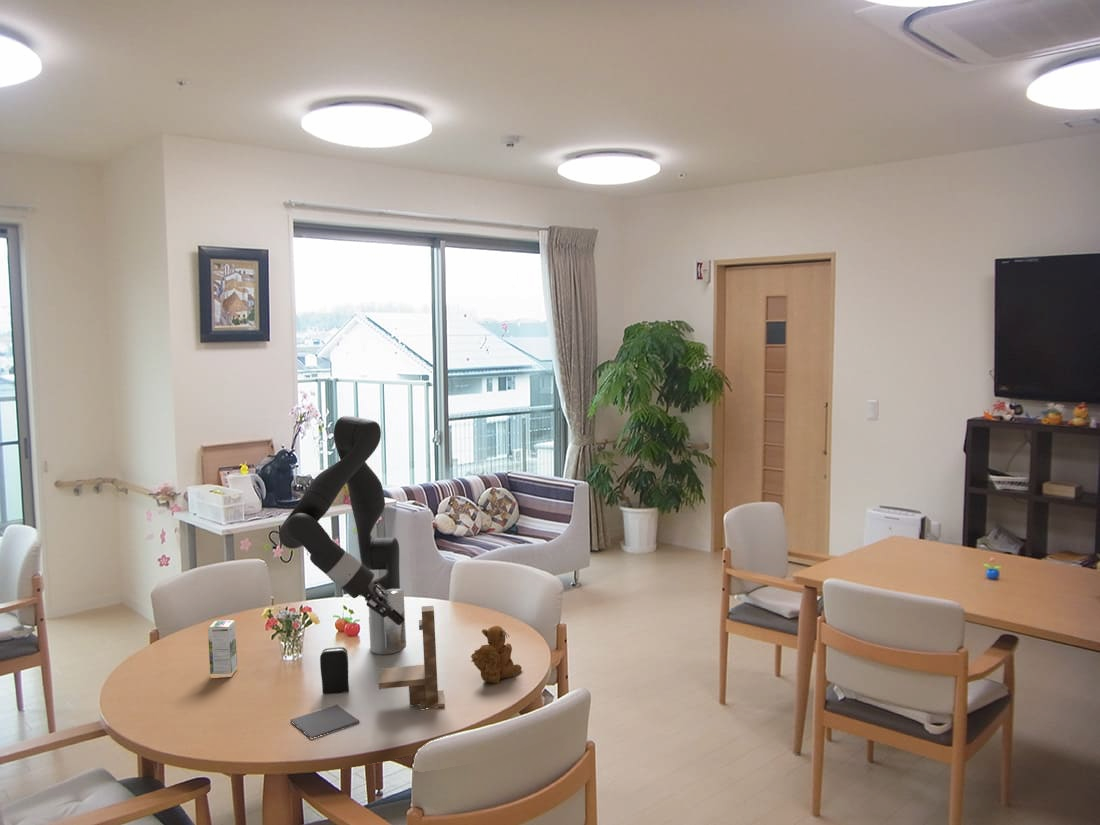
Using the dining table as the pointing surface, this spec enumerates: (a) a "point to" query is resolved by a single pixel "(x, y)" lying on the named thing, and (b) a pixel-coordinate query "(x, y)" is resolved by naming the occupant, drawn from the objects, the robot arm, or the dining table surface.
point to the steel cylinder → (394, 632)
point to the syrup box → (222, 647)
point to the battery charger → (334, 670)
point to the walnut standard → (419, 670)
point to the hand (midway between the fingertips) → (402, 618)
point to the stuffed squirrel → (495, 657)
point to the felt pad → (325, 721)
